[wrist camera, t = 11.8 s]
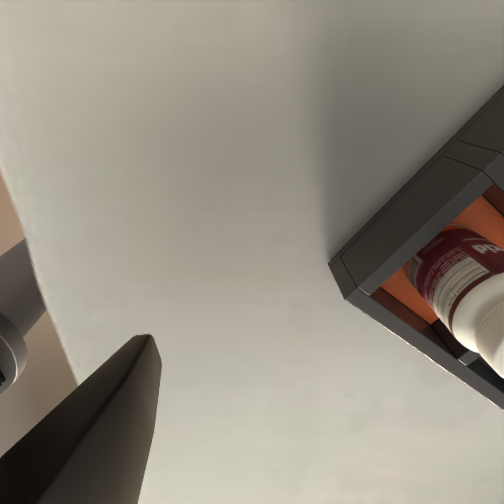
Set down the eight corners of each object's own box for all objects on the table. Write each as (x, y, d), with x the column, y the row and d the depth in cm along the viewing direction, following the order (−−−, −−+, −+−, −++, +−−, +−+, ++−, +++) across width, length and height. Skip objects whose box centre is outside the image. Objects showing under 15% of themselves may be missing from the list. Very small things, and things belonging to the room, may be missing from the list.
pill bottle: (493, 242, 21) (633, 333, 13) (438, 297, 23) (534, 404, 15) (438, 206, 20) (559, 283, 12) (385, 267, 21) (461, 367, 14)
